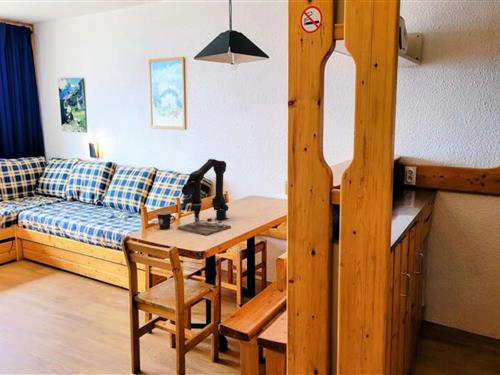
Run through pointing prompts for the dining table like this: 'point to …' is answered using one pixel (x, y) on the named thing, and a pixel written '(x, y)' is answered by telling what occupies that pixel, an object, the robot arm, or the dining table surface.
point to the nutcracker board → (203, 228)
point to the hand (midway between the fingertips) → (196, 217)
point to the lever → (208, 222)
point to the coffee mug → (164, 220)
